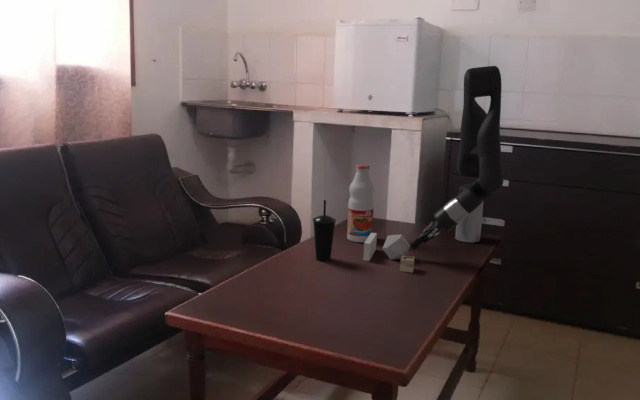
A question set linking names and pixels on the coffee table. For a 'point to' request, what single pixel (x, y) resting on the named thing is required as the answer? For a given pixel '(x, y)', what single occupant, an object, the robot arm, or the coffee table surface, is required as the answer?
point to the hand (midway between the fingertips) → (412, 246)
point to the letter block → (407, 264)
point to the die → (396, 246)
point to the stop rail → (370, 246)
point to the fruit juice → (360, 206)
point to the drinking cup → (323, 235)
